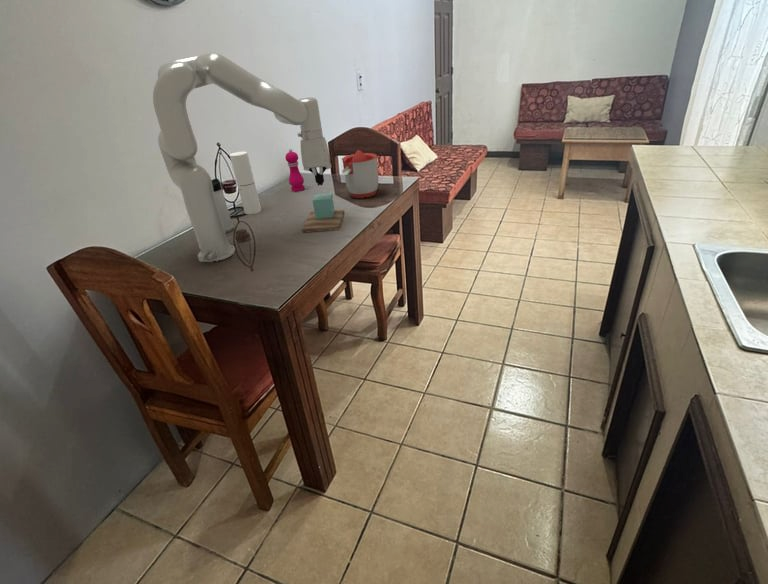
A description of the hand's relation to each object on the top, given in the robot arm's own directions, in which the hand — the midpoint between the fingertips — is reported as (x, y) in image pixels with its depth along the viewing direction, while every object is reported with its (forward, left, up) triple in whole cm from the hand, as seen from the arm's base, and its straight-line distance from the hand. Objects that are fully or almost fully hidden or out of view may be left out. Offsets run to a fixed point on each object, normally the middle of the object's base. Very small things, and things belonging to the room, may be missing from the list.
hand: (320, 184), depth 163 cm
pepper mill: (+43, +20, -14) cm, 50 cm away
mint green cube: (0, 0, -13) cm, 13 cm away
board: (-4, 0, -14) cm, 15 cm away
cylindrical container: (+16, +35, -14) cm, 41 cm away
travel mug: (-5, +40, -14) cm, 43 cm away
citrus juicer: (+27, -13, -14) cm, 33 cm away
